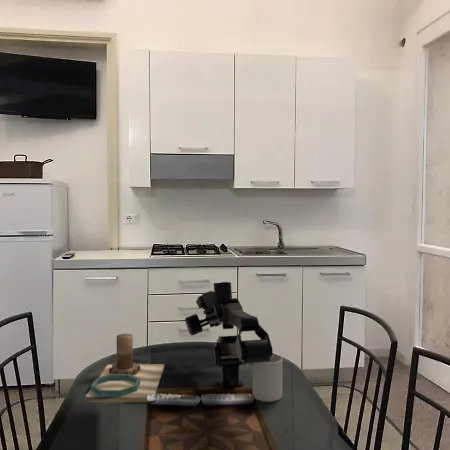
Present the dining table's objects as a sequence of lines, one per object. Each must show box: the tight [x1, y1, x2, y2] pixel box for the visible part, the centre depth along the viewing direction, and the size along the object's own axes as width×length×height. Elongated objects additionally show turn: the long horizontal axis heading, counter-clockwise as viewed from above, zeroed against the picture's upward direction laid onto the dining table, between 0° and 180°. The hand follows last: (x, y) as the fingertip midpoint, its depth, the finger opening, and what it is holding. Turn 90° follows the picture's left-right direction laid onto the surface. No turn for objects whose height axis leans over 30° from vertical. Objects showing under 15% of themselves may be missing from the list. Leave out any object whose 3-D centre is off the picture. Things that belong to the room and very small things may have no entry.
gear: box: [109, 333, 140, 375], centre depth 149 cm, size 10×10×12 cm
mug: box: [251, 353, 283, 403], centre depth 135 cm, size 12×8×11 cm
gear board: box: [84, 363, 166, 403], centre depth 142 cm, size 27×19×3 cm
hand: (203, 319), depth 166 cm, fingers open, 9 cm apart
